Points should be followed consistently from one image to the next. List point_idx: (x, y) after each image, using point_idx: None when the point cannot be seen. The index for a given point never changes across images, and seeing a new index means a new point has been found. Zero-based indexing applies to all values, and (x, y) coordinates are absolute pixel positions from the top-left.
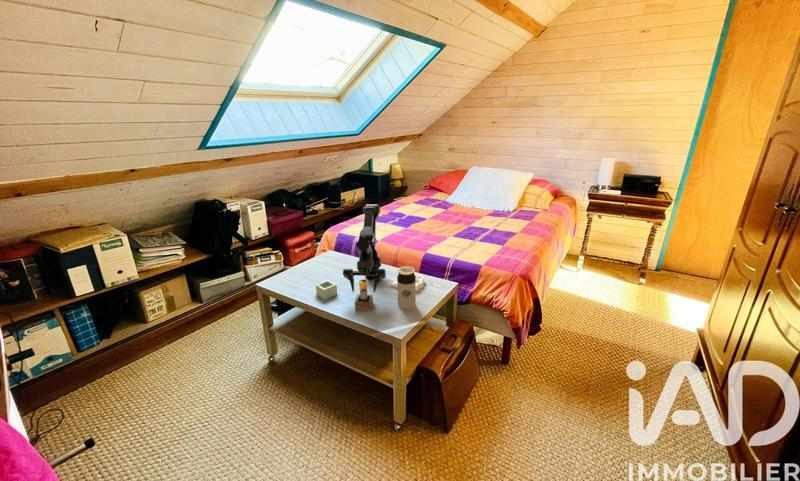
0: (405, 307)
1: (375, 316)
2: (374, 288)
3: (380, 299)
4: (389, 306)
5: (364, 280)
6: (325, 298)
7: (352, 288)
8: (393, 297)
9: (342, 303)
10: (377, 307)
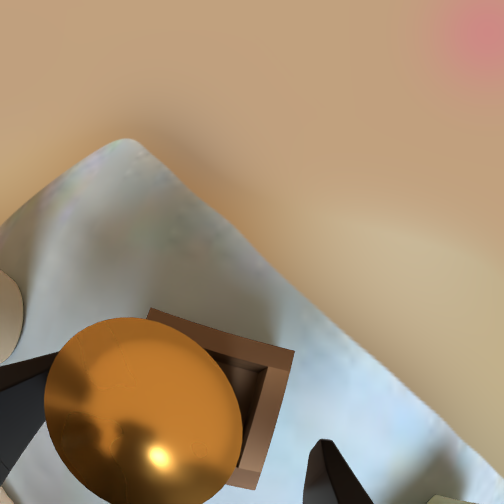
0: (3, 272)
1: (156, 284)
2: (39, 362)
3: None
4: None
5: (83, 452)
6: (441, 501)
7: (340, 467)
8: None
9: None
10: None
